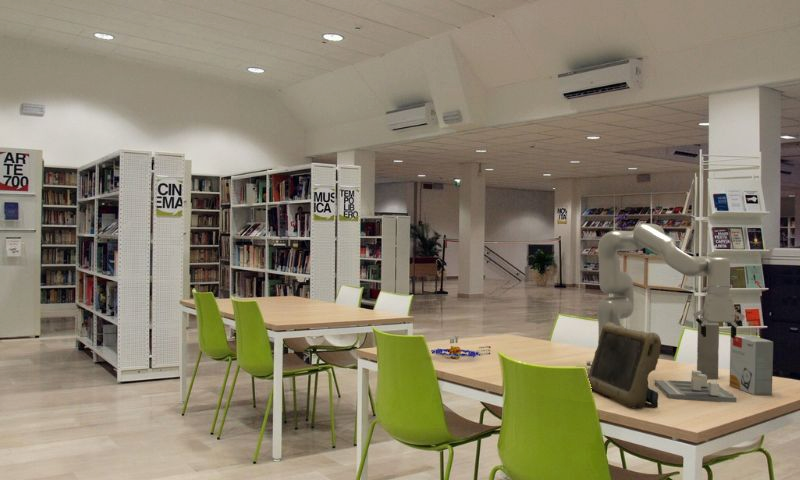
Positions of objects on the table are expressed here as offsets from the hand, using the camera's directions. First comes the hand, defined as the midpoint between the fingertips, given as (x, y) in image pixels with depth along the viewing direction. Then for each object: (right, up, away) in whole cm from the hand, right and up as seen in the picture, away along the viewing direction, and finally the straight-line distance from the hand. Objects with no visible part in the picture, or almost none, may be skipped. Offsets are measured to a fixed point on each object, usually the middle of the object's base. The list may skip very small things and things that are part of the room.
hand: (718, 337), depth 241 cm
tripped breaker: (-10, -18, -4) cm, 21 cm away
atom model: (-88, -19, +64) cm, 110 cm away
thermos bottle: (+10, -21, +29) cm, 37 cm away
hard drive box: (+15, -21, +6) cm, 27 cm away
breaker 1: (-4, -18, +10) cm, 21 cm away
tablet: (-39, -20, -10) cm, 45 cm away
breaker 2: (-7, -18, -11) cm, 23 cm away
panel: (-9, -20, 0) cm, 22 cm away
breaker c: (-5, -19, +3) cm, 19 cm away
